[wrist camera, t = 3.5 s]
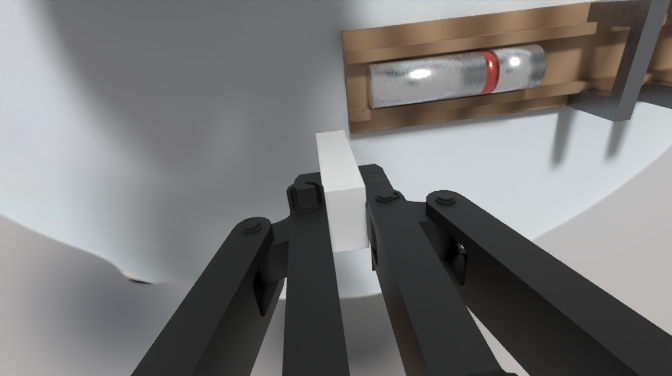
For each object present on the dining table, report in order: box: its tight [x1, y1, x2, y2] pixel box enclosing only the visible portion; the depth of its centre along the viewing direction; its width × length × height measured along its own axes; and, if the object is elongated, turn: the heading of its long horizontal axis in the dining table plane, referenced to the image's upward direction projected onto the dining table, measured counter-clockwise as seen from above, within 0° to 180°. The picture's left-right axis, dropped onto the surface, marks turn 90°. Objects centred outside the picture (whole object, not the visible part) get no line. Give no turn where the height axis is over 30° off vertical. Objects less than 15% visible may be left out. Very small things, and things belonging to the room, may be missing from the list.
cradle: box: [341, 0, 672, 134], centre depth 33 cm, size 38×10×2 cm, turn 96°
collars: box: [566, 0, 672, 121], centre depth 31 cm, size 9×10×6 cm
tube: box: [366, 44, 547, 109], centre depth 31 cm, size 16×4×4 cm, turn 96°
